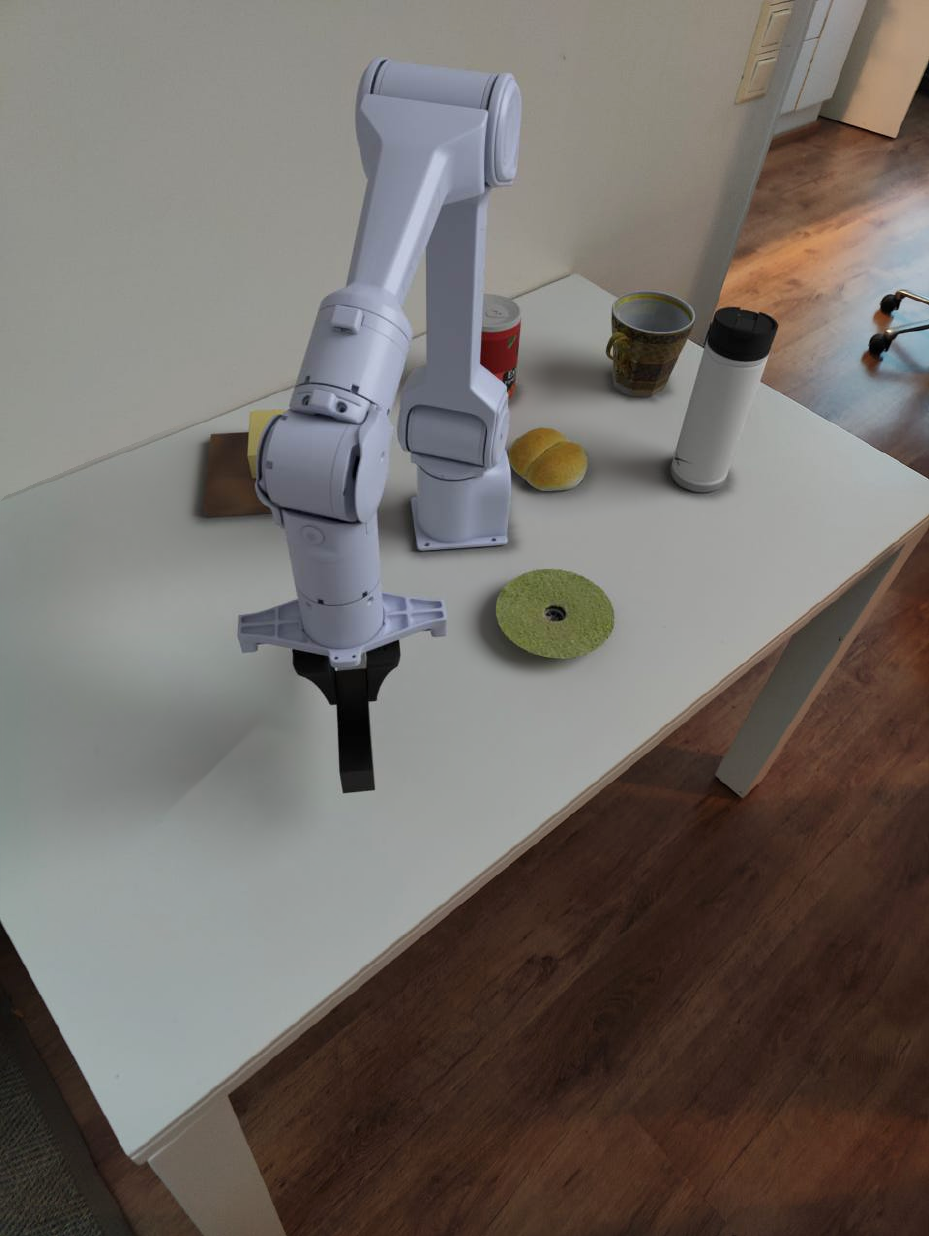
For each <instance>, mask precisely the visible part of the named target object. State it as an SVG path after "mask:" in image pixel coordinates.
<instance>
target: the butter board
mask: <svg viewBox="0 0 929 1236" xmlns="http://www.w3.org/2000/svg"><path fill="white" fill-rule="evenodd" d="M248 437H249V431H242V432H222V433H210V439H209V446H208V448H209V449H208V455H207V456H208V458H207V465H206V473H205V474H206V475H205V484H204V493H203V502H202V503H203V504H202V513H203V516H204V518H217V517H230V516H232V517H233V516H247V515H263V514H272V511H271V509H270V507H268V506H266V505H264V504H263V503H262V502H261V501H260V499H259V498H258V496H257V493H256V490H255V482H256V478H252V475H251V470H250V465H249V461H248V456H247V453H248Z"/></svg>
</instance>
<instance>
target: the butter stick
mask: <svg viewBox="0 0 929 1236" xmlns="http://www.w3.org/2000/svg"><path fill="white" fill-rule="evenodd" d="M285 411H287V409H286V408H279V409H278V408H277V409H262V410H249V420H248V421H249V422H248V432H249V437H248V453H247V456H248V461H249V465H250V470H251V475H252V478H256V455H257V449H258V444H259V441H260V437H261V435H262V432H263V430H264V428H265V426H266V424H267V423H268V422H269V420H270V419H271V418H272V417H273V416H275V415H278V414H281V415H282V414H283V413H284V412H285Z"/></svg>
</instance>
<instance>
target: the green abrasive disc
mask: <svg viewBox="0 0 929 1236" xmlns="http://www.w3.org/2000/svg"><path fill="white" fill-rule="evenodd" d="M495 617H496V620H497V624H498V625H499V628H500V629H501V631H502V632H503V634H505V637H507V638H508V639H509V641H511V642H512V643H513V644H515V645H516V646H517V647H519V648H521V649H522V650H525V651H527V652H528V653H530V654H532V655H536V656H541V657H546V658H550V659H572V658H577V657H582V656H586V655H588V654H590V653H593V652H594V651H595V650H597V649H598V648H599V647H601V646H602V645H603V644H604V643H605V642H607V640H608V639H609V637H610V636H611V633H612V632H613V630H614V626H615V617H616V616H615V609H614V607H613V604H612V602H611V600H610V599H609V597H608V596H607V594H606V592H605V591H604V590H603V589H602V588H601V587H600V586H599V585H597V584H596V583H595V582H594V581H592V580H590V579H589V578H586V577H585V576H583V575H581V574H580V575H579V574H578V573H575V572H573V571H567V570H563V569H557V568H556V569H555V568H542V569H536V570H531V571H528V572H524V573H521V574H520V575H518V576H517V577H515V578H512V579H511V580H510V581H509V582H508V583H507V584H505V586H504V587H503V588H502V590H501V591H500V592H499V594H498V596H497V600H496V603H495Z"/></svg>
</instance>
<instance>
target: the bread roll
mask: <svg viewBox="0 0 929 1236" xmlns="http://www.w3.org/2000/svg"><path fill="white" fill-rule="evenodd" d="M508 459H509V465H510V467H511V468H512V470H513V471H514V472H515V473H516V474H517V476H519V477H520V478H522V479H523V480H525V481H526V482H527V483H528V484H529V485H530V486H531V487H533V488H535V489H537V490H538V491H543V492H556V491H557V492H558V491H565V490H566V491H567V490H572V489H573V488H575V487H577V486H578V485H579V484H580V483H582V481H583V480H584V477H585V476H586V472H587V469H588V465H589V464H588V457H587V454H586V452H585V450H584V448H583V447H582V446H581V445H580V444H578V443H576V442H574V441H570V440H569V439H568V438H567V437H566V436H565V435H564V434H563V433H562V432H560V431H558V430H556V429H555V428H552V427H536V428H534V429H531V430H529V431H527V432H526V433H524V434H522V435H520V437H517V438H516V439H515V440H514V441H513V442H512V443H511V444H510V446H509V452H508Z"/></svg>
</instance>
